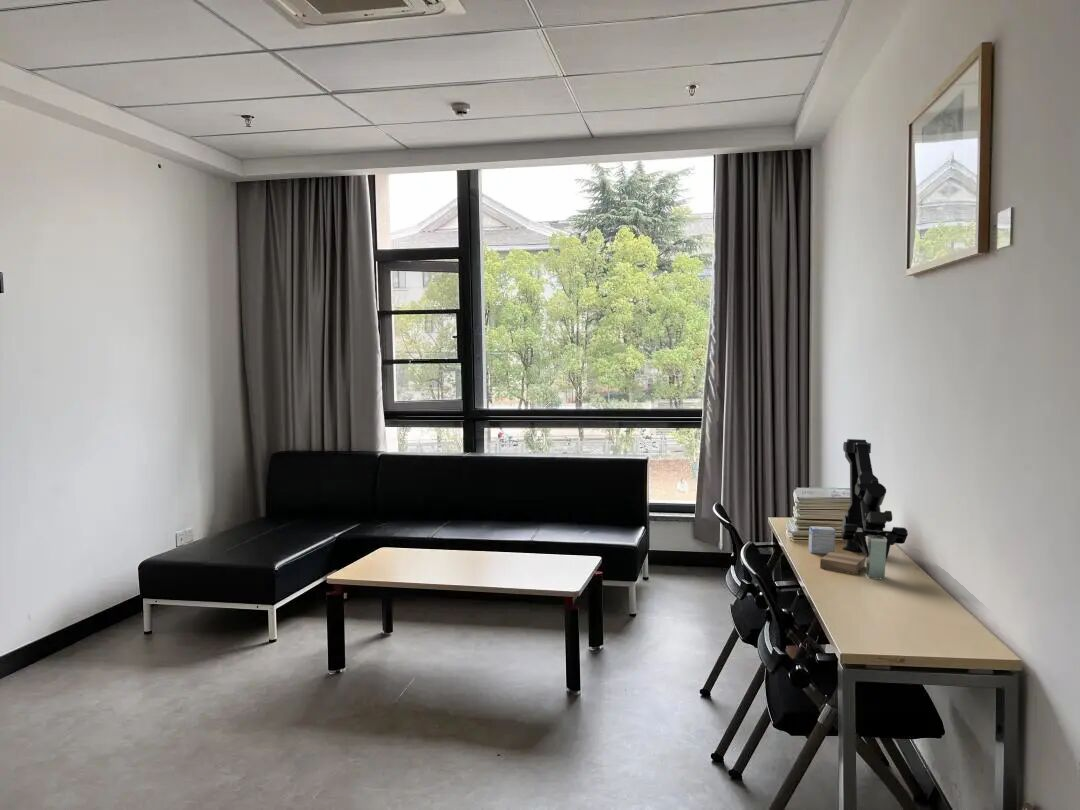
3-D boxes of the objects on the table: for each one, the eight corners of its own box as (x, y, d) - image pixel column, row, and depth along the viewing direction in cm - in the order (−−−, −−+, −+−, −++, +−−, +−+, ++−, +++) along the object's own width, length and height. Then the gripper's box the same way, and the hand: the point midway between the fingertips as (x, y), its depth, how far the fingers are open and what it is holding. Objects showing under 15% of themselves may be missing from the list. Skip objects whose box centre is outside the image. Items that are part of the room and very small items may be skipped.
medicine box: (831, 551, 271) (832, 526, 270) (834, 554, 266) (835, 530, 266) (807, 550, 272) (809, 526, 271) (811, 553, 267) (812, 529, 266)
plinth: (830, 560, 259) (830, 551, 259) (864, 566, 252) (865, 557, 252) (820, 567, 250) (820, 558, 250) (855, 574, 244) (855, 565, 243)
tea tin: (865, 574, 244) (867, 534, 243) (881, 575, 243) (883, 535, 242) (868, 578, 240) (870, 538, 239) (884, 579, 239) (887, 539, 238)
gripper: (845, 499, 245) (849, 541, 235) (908, 502, 242) (915, 546, 232) (839, 517, 254) (843, 560, 244) (900, 521, 250) (907, 564, 240)
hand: (877, 557), depth 240 cm, fingers open, 5 cm apart
